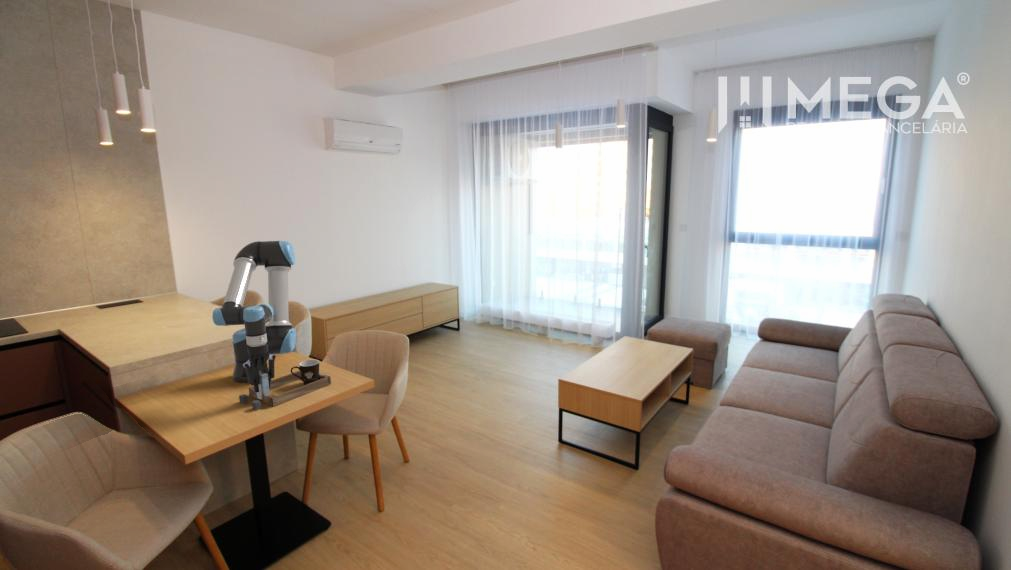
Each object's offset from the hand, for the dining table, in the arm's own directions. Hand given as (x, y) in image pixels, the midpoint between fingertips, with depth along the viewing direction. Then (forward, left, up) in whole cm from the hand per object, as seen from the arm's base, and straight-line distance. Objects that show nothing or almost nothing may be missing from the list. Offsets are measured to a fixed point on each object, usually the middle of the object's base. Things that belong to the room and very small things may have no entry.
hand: (263, 396), depth 200 cm
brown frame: (0, +13, -1) cm, 13 cm away
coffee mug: (0, +21, -2) cm, 21 cm away
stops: (0, -6, -2) cm, 6 cm away
